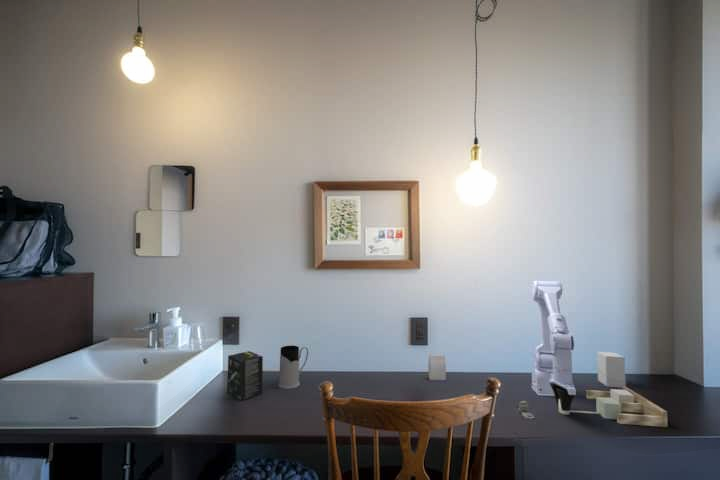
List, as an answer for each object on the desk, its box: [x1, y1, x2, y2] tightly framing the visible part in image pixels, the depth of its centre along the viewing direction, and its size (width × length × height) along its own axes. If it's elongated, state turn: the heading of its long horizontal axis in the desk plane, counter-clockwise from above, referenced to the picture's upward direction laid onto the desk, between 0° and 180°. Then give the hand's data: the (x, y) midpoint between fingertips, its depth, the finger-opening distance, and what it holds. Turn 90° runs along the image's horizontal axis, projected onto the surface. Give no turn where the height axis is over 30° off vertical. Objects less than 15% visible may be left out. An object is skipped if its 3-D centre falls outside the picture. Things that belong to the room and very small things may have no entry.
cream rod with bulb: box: [558, 397, 622, 420], centre depth 114 cm, size 18×5×5 cm, turn 82°
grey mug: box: [277, 345, 309, 390], centre depth 141 cm, size 9×14×15 cm, turn 139°
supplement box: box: [596, 351, 627, 389], centre depth 142 cm, size 7×7×13 cm
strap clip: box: [513, 400, 535, 420], centre depth 115 cm, size 8×3×4 cm, turn 3°
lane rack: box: [585, 386, 669, 428], centre depth 117 cm, size 14×20×5 cm
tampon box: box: [226, 350, 264, 402], centre depth 129 cm, size 11×9×15 cm
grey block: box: [609, 388, 635, 403], centre depth 121 cm, size 5×5×5 cm
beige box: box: [427, 354, 447, 381], centre depth 147 cm, size 4×7×10 cm, turn 90°
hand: (563, 407), depth 115 cm, fingers closed on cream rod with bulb, 3 cm apart
